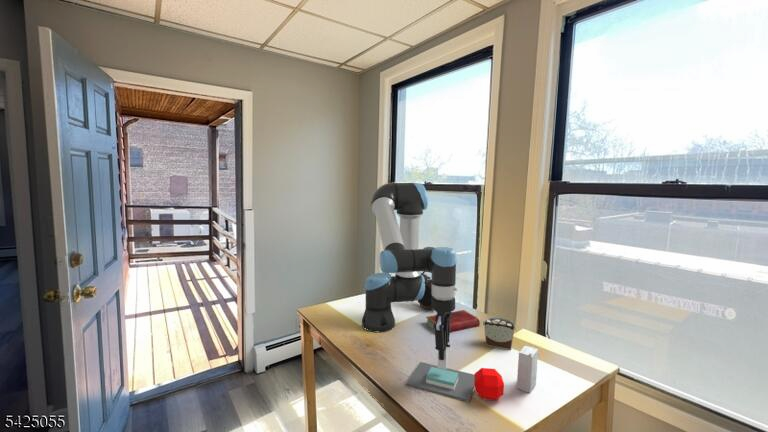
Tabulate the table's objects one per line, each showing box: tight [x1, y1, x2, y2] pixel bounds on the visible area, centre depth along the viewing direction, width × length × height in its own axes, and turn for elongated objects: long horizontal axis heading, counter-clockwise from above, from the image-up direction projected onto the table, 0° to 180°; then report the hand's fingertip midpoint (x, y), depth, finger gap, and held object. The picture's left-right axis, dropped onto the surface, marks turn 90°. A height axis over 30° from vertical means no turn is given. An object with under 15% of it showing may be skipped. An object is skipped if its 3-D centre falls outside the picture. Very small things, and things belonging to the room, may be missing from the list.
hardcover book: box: [425, 309, 481, 334], centre depth 150 cm, size 12×21×4 cm, turn 113°
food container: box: [482, 316, 517, 351], centre depth 132 cm, size 12×6×10 cm, turn 65°
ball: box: [474, 367, 505, 401], centre depth 100 cm, size 8×8×8 cm
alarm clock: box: [417, 271, 434, 313], centre depth 169 cm, size 14×7×20 cm, turn 41°
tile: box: [426, 367, 458, 390], centre depth 107 cm, size 9×2×6 cm
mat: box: [405, 361, 475, 403], centre depth 108 cm, size 20×14×1 cm
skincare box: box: [516, 345, 539, 394], centre depth 104 cm, size 6×4×12 cm
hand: (442, 367), depth 107 cm, fingers closed
